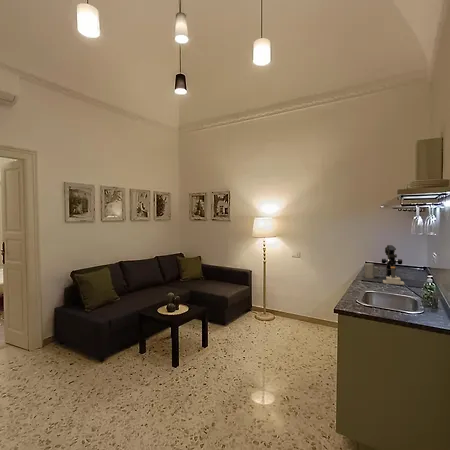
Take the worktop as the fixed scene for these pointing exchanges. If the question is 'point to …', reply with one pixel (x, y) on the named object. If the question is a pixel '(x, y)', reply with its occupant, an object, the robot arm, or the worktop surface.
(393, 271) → the lever
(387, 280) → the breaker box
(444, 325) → the worktop surface
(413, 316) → the worktop surface
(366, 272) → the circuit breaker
